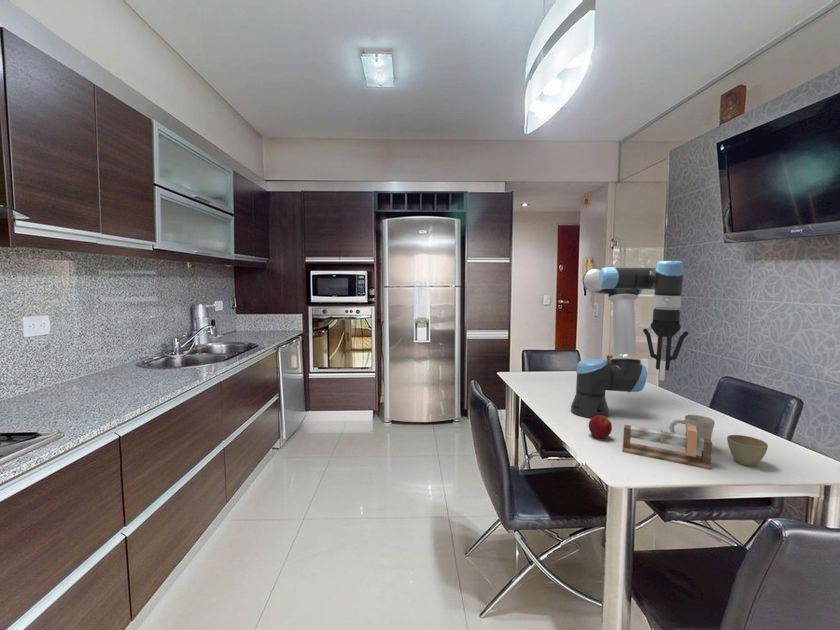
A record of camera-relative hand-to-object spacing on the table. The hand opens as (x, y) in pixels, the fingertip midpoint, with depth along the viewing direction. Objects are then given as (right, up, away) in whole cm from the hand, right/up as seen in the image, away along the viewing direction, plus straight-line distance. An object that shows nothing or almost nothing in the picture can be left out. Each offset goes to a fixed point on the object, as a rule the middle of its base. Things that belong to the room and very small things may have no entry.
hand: (661, 379), depth 132 cm
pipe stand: (-1, -24, -2) cm, 25 cm away
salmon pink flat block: (+5, -22, -6) cm, 24 cm away
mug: (+14, -24, +7) cm, 29 cm away
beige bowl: (+22, -25, -6) cm, 35 cm away
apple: (-15, -23, +13) cm, 30 cm away
